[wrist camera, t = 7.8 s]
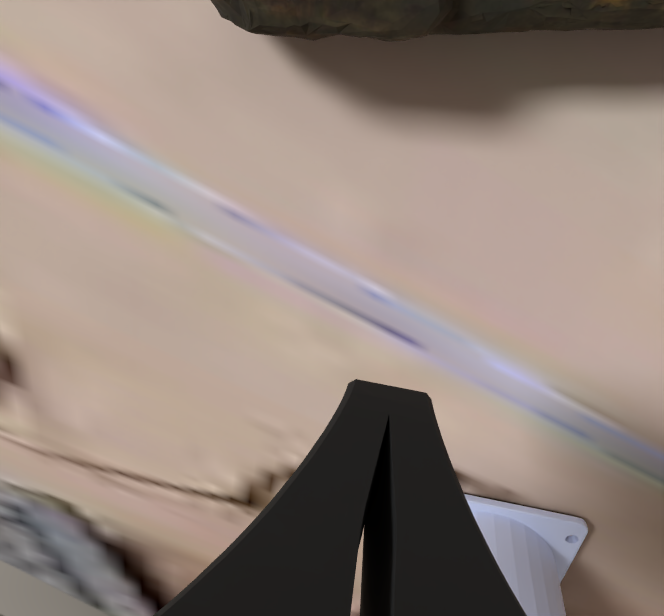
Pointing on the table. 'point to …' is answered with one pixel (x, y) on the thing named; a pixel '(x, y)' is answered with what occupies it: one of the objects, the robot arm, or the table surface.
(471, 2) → the hand tool
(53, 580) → the table surface
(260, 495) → the table surface
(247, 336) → the table surface
